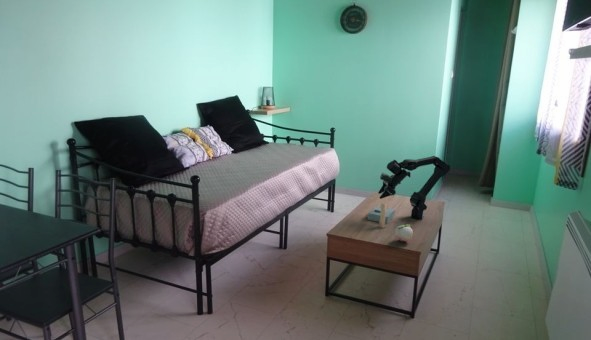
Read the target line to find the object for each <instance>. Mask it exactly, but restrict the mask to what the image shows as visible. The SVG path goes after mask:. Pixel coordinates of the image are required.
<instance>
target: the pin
mask: <svg viewBox="0 0 591 340" xmlns="http://www.w3.org/2000/svg"><path fill="white" fill-rule="evenodd" d="M380 205H381V206H380V207H381V213H380V222H379V226H378V227H379V228H380V229H384V228H385V225H386V223H385V217H386V208H388V207H387V205H388V204H387V203H386V202H381V204H380Z"/></svg>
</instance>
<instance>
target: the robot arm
mask: <svg viewBox="0 0 591 340" xmlns="http://www.w3.org/2000/svg"><path fill="white" fill-rule="evenodd" d="M429 165H430V166H431V165H433V166H434V168H433V173H432V174H431V175H430V177H429V178H428V179H427V181H426V182H425V184H424V185H422V187H421V188H420V190H419V191H413V193H412V195H410V198H409V202H410V206H411V207H412V209H411V212H410V213H411V214H410V217H411V219H416V220H421V221H422V220H423V219H424V217H425V216H424V214H425V211H426V210H427V208H428V206H427V204H425V202H426V201H427V200H426V199H427V196H428V194H429V193H430V192H431V190H432V189H433V188H434V187H435V186H436V185H437V183H438V182H439V180H440V179H441V178H442V177H445V176H446V175H448V173H450V171H451V165H450V164H449V163H446V162H445V161H443V160H442V159H441V158H440V157H439V156H436V155H431V156H428V157H423V158H417V159H413V158H412V159H411V158H410V159H409V158H408V159H407V158H406V159H404V160H402V161H401V162H398V161H397V160H396V159H393V160H391V161H390V162H388V163H387V165H386V169H387V171H389V172H390V173H392V174H391V175H389V174H387V173H385V172H381V174H380V176H379V178H380V180H381V181H382V184H381V185H382V186H381V188H379V190H378V192H377V193H378V195H379V194H380V195H379V199H380V200H382V199H385V198H387V197H391V196H392V197H393V196H395V195H396V194H397V193H396V187H397V186H399V185H401V184H402V181H404V180H405V179H406V178H407V177H409V179H410V178H411V172H412V171H414V170H416V169H418V168H420V167H425V166H429Z"/></svg>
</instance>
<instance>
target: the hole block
mask: <svg viewBox="0 0 591 340" xmlns="http://www.w3.org/2000/svg"><path fill="white" fill-rule="evenodd" d="M380 213H381V206H379V205H376V206H374V207H373V208H372V209H371V210H370V211H368V213H367V220H369V221H374V222H378V223H380ZM395 213H396V209H394V208H391V207H390V208H388V207H386V217H385V224H388V223H389V222H390V221H391V220H392V219H393V218H394V217H395Z"/></svg>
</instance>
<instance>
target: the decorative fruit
mask: <svg viewBox="0 0 591 340" xmlns="http://www.w3.org/2000/svg"><path fill="white" fill-rule="evenodd" d="M411 227H412V226H411V225H410V224H403V225H399V226H396V228H395V230H394V234H395V237H396V238H397V239H398V240H399V241H400V242H406V241H408V240H410V239H411V238H412V237H413V235H414V232H413V228H411Z"/></svg>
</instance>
